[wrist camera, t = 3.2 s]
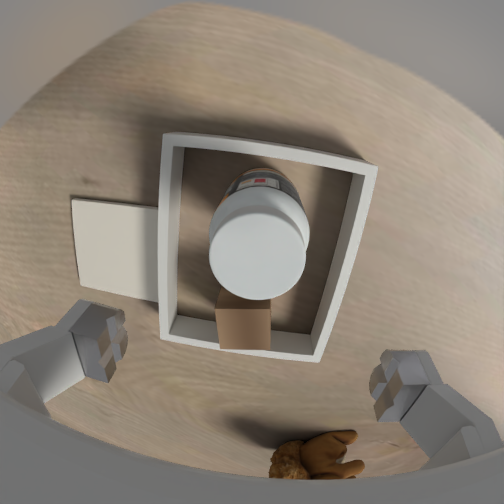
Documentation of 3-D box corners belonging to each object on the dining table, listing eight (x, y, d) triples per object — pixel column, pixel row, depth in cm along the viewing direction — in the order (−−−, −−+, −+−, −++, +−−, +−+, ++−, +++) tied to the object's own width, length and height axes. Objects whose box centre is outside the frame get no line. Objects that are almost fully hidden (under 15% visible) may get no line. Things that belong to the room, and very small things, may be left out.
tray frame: (169, 319, 29) (160, 338, 26) (176, 131, 21) (163, 133, 19) (316, 341, 29) (319, 362, 26) (365, 160, 21) (378, 166, 19)
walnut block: (228, 313, 28) (220, 349, 23) (224, 275, 26) (214, 308, 22) (271, 313, 28) (270, 349, 23) (270, 275, 26) (269, 309, 21)
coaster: (83, 282, 28) (80, 285, 27) (75, 198, 24) (71, 199, 23) (162, 299, 28) (160, 302, 27) (162, 208, 24) (160, 210, 23)
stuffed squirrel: (341, 459, 40) (347, 525, 28) (258, 454, 39) (253, 526, 28) (368, 429, 36) (383, 506, 24) (275, 424, 35) (273, 511, 23)
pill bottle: (220, 172, 23) (184, 209, 13) (295, 162, 22) (312, 193, 13) (232, 241, 25) (209, 312, 16) (302, 233, 24) (319, 303, 15)
